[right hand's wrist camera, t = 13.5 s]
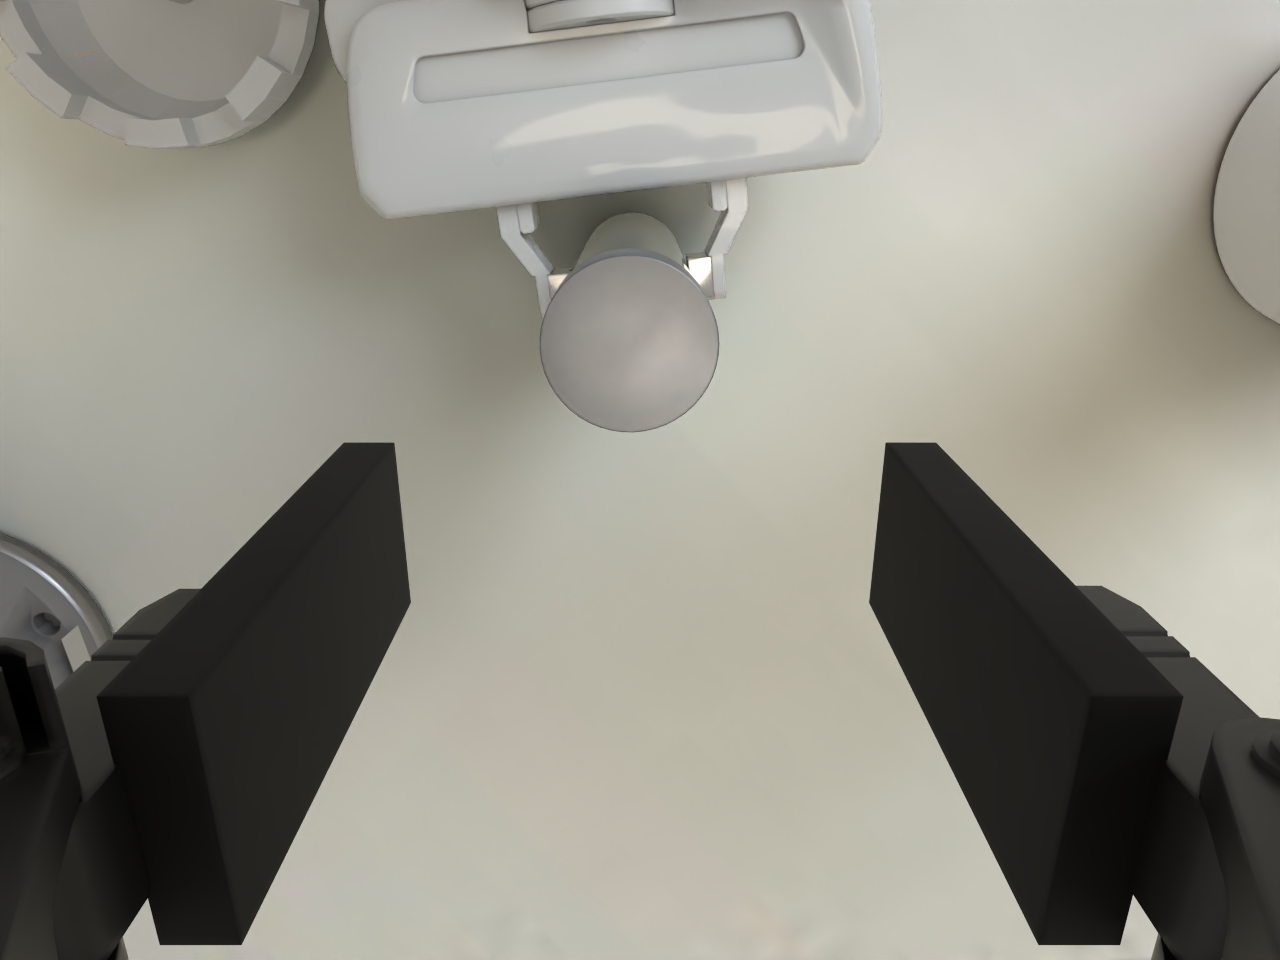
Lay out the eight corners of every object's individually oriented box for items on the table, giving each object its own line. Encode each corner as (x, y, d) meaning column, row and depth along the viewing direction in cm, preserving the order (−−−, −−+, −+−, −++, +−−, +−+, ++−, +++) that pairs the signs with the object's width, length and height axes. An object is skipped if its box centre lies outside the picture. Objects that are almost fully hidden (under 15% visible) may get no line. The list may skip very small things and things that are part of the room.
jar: (665, 199, 42) (685, 238, 25) (693, 297, 44) (729, 396, 27) (568, 230, 43) (524, 289, 26) (600, 326, 44) (578, 440, 27)
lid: (687, 225, 27) (691, 230, 25) (733, 388, 28) (739, 404, 27) (521, 277, 27) (513, 287, 25) (576, 435, 29) (572, 453, 27)
